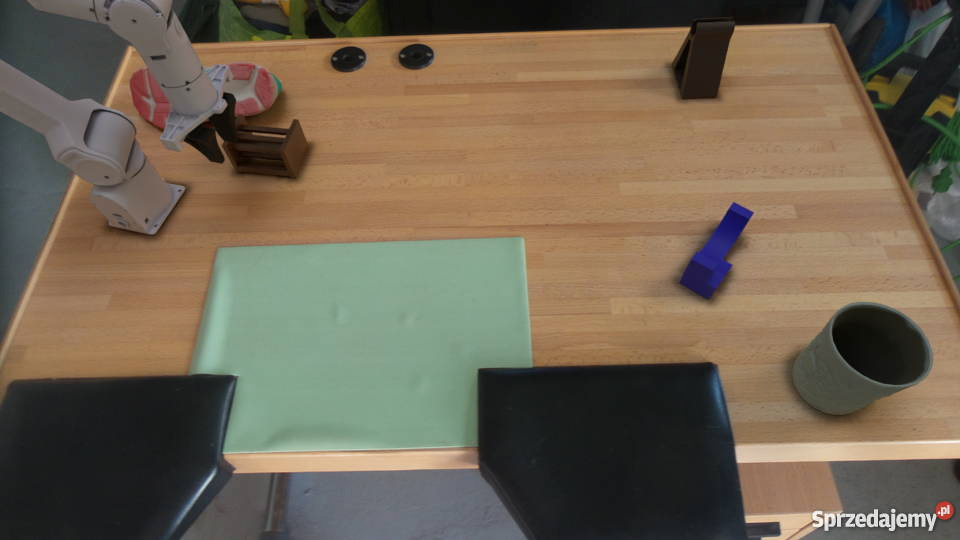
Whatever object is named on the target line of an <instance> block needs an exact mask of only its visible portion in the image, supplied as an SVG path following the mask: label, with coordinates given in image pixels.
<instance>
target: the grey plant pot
mask: <svg viewBox="0 0 960 540" xmlns="http://www.w3.org/2000/svg"><path fill="white" fill-rule="evenodd" d="M933 364H934V354H933V348H932V346H931V343H930V341H929V338H928V337H927V335H926V334H925V332H924V331H923V329H922V328H921V327H920V326H919V325H918V324H917V323H916V322H915V321H914V320H912V318H910V316H908V315H906V313H903V312H902V311H900V310H898V309H896V308H894V307H892V306H889V305H887V304H883V303H880V302H874V301H855V302H850V303H848V304H846V305H843V306H842V307H840V308H839V309H838V310H836V312H834V314H833V315H831V317H830V319H829V320H828V321H827V323H826V324H825V326H824V327H823V328H822V330H821V331H819V332H818V333H817V334H816V336H814V338H813V339H812V340H811V341H810V342H809V344H808V345H807V346H806V347H805V348H804V349H803V351H801V352H800V354H798V356H797V357H796V359H795V360H794V363H793V365H792V368H791V369H792V370H791V375H792V376H791V379H792V381H793V385H794V387H795V390H796V392H797V393H798V394H799V396H800V398H802V399H803V400H804V401H805V402H806V403H807V404H808V405H810V407H812V408H814V409H815V410H818V411H820V412H822V413H825V414H828V415H833V416H845V415H849V414H852V413H854V412H857V411H859V410H861V409H864V408H865V407H867V406H868V405H870V404H872V403H874V402H876V401H877V400H880V399H882V398H887V397H891V396H892V395H894V394H896V393H899V392H901V391H904V390H906V389H909V388H911V387H913V386H917V385H919V384H920V383H921V382H923V381H924V380H925V379H926V378H927V377H928V376H929V375H930V373H931V371H932V369H933V366H934V365H933Z"/></svg>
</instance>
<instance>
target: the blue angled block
mask: <svg viewBox="0 0 960 540" xmlns="http://www.w3.org/2000/svg"><path fill="white" fill-rule="evenodd" d="M754 214H755V212H754V211H752V210H750V209H748V208H746V207H745V206H742V205H741V204H739V203H737V202H735V201H733V202H732V203H731V204H730V206H729V207H728V209H727V211H726V212H725V214H724V216H723V217H722V219H721V220H720V222H719V224H718V225H717V227H716V228H715V230H714V231H713V233H712V235H711V236H710V237H709V239H708V241H707V242H706V243H705V244H704V246H703V248H702V249H701V250H700V251H698V250H697V251H696V252H695V253H694V255H693V256H692V257H691V258H690V261H689V262H688V265H687V266H686V268H685V270H684V272H683V274H682V275H681V278H680V279H679V281H678V283H679V284H681V285H682V286H684V287H685V288H687V289H689V290H691V291H692V292H694V293H696V294H698V295H699V296H700V297H702V298H705V299H706V300H708V301H710V299H711V298H712V296H713V295H714V293H715V292H716V290H717V289H718V287H719V286H720V285H721V283H722V282H723V280H724V279H725V278H726V276H727V275H728V273H729V271H730V270H731V268H733V264H732V263H731V262H728V261H726V260H725V258H726V256H727V255H728V254H729V252H730V251H731V249H732V248H733V246H734V245H735V243H736V242H737V241H738V240H739V238H740V236H741V234H742V233H743V231H744V230H745V228H746V227H747V225H748V223H749V221H750V220H751V218H752V217H753V215H754Z"/></svg>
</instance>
